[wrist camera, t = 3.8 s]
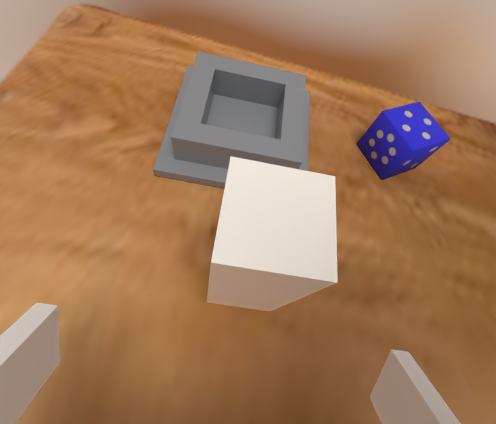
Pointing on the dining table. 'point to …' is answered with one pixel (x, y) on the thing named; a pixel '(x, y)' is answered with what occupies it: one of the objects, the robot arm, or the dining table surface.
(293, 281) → the plug
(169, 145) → the socket
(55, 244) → the dining table surface
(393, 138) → the die
